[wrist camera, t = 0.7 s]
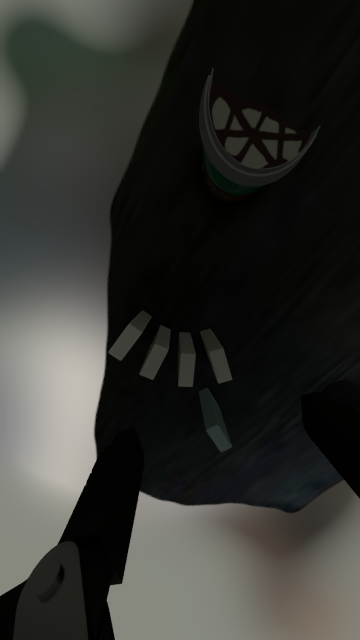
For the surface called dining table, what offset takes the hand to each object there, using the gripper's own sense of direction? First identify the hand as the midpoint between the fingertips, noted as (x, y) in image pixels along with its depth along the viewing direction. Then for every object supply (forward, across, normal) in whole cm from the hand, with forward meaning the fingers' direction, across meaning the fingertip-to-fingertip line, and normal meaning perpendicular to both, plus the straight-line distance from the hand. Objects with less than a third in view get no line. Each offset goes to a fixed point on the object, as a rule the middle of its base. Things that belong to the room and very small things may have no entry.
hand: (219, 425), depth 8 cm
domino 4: (+24, +2, -5) cm, 24 cm away
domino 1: (+23, -9, +1) cm, 25 cm away
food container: (+24, +9, +19) cm, 31 cm away
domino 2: (+24, -6, -3) cm, 24 cm away
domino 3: (+24, -2, -5) cm, 24 cm away
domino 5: (+24, 0, -18) cm, 30 cm away
